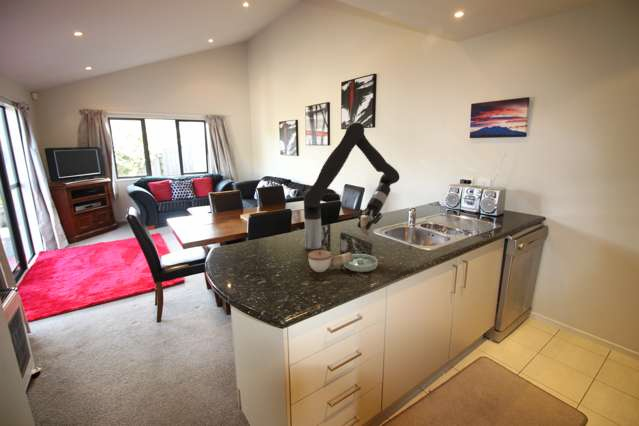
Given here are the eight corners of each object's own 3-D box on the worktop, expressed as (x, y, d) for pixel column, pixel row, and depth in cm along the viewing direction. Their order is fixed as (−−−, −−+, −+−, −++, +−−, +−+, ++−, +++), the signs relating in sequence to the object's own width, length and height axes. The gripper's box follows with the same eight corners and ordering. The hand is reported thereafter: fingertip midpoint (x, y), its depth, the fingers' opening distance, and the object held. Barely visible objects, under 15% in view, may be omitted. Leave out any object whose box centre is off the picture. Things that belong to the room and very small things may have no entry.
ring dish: (347, 272, 139) (347, 266, 138) (341, 259, 154) (341, 254, 154) (381, 270, 140) (381, 264, 139) (372, 257, 156) (372, 252, 155)
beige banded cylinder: (352, 258, 146) (332, 264, 145) (349, 250, 145) (329, 256, 144) (353, 262, 141) (333, 268, 141) (351, 254, 140) (331, 260, 140)
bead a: (361, 236, 154) (361, 217, 152) (359, 233, 159) (360, 215, 156) (369, 236, 155) (370, 217, 153) (367, 233, 159) (368, 215, 157)
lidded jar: (323, 276, 136) (323, 256, 133) (304, 271, 141) (303, 252, 139) (335, 267, 144) (335, 249, 142) (316, 263, 150) (316, 245, 148)
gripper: (363, 195, 163) (348, 221, 157) (386, 199, 153) (371, 226, 147) (368, 204, 167) (354, 229, 162) (391, 207, 158) (377, 234, 152)
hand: (362, 228), depth 155 cm, fingers closed on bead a, 4 cm apart
